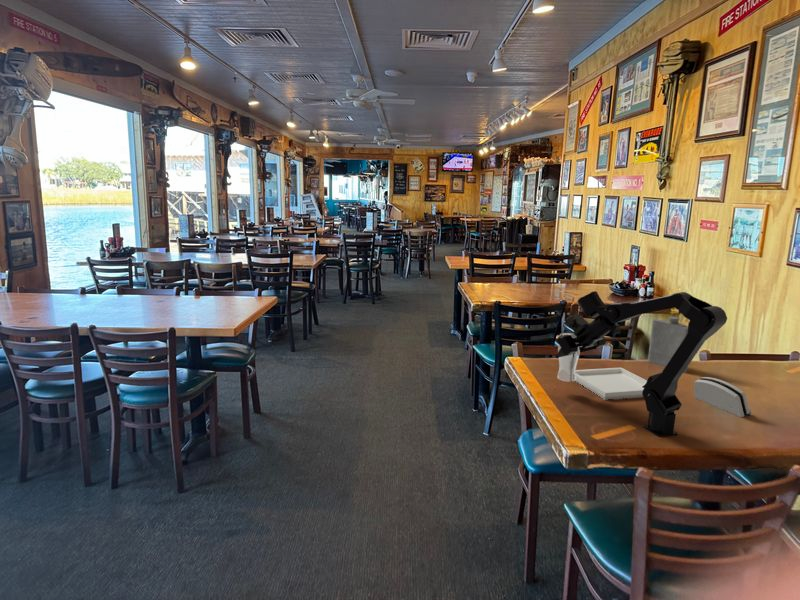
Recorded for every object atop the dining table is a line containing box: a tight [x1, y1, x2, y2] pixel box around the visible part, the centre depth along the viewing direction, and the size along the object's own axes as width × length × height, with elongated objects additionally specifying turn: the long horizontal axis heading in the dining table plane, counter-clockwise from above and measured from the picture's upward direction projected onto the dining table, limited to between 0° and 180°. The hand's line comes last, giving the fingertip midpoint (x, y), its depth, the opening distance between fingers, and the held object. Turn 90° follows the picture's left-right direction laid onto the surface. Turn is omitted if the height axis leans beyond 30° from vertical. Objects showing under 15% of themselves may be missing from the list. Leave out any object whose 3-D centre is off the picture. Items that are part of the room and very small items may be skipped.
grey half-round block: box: [693, 376, 753, 418], centre depth 162 cm, size 17×5×10 cm, turn 21°
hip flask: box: [647, 316, 688, 374], centre depth 200 cm, size 16×4×20 cm, turn 29°
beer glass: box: [556, 332, 581, 383], centre depth 168 cm, size 7×7×15 cm
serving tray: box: [575, 367, 648, 401], centre depth 179 cm, size 22×22×2 cm
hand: (565, 354), depth 169 cm, fingers closed on beer glass, 7 cm apart
